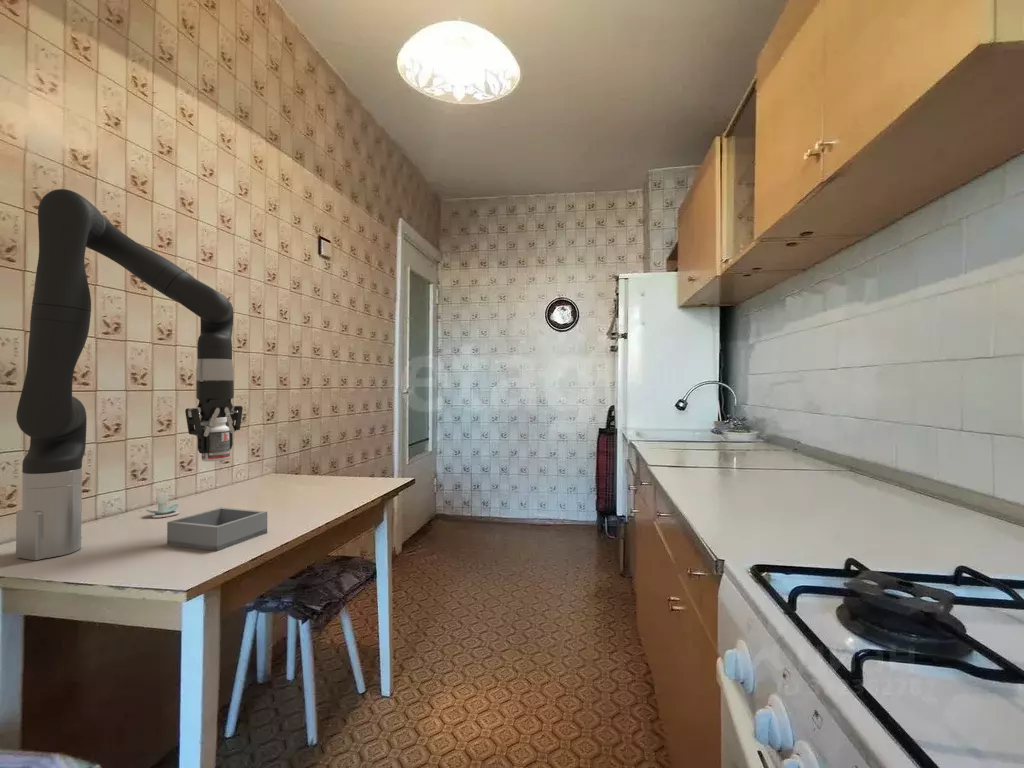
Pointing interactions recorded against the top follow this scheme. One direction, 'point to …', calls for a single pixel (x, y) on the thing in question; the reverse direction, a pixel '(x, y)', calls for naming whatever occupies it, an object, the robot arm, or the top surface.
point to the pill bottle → (218, 441)
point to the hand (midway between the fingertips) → (215, 451)
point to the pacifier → (164, 507)
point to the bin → (216, 528)
